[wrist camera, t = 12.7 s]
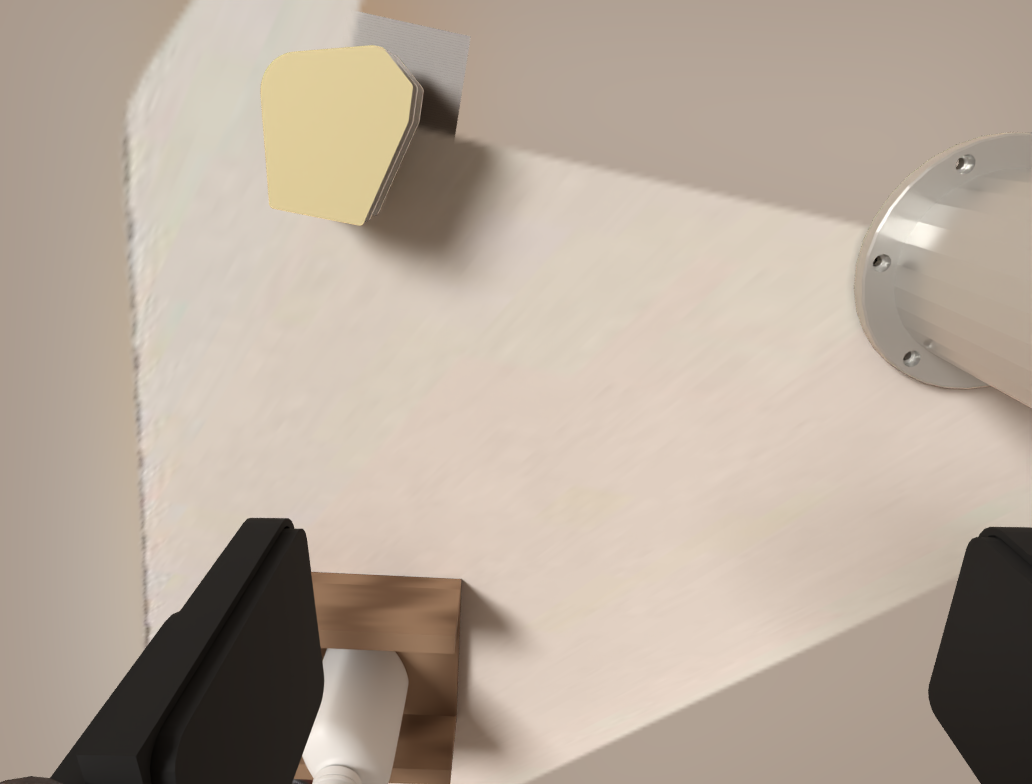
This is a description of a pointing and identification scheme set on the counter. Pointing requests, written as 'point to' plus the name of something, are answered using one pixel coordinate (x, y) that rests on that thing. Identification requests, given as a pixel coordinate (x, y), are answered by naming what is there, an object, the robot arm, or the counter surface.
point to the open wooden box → (402, 657)
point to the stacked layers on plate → (356, 115)
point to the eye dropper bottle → (357, 718)
